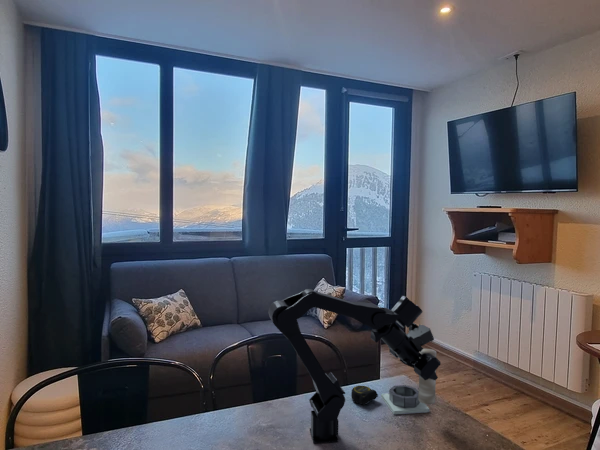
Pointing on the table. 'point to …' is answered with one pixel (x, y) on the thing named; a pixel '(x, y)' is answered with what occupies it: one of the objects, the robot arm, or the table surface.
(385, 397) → the collar board
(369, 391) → the tape measure
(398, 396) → the collar
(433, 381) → the peg
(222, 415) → the table surface
